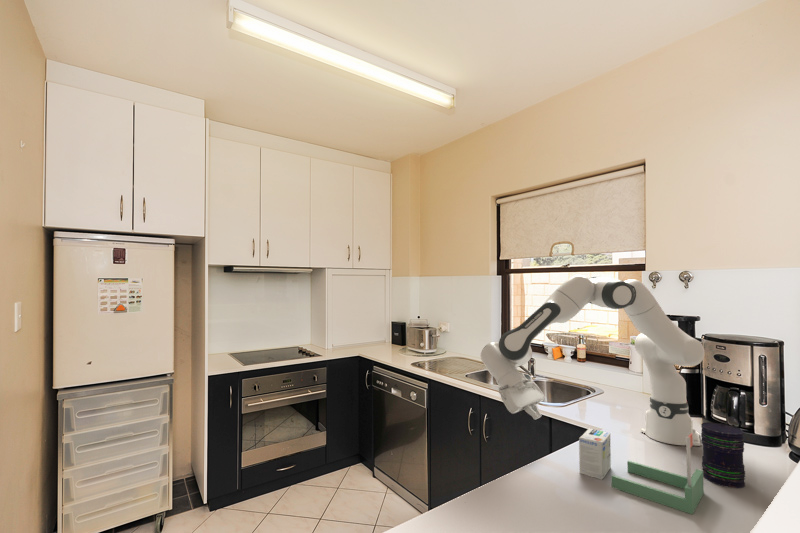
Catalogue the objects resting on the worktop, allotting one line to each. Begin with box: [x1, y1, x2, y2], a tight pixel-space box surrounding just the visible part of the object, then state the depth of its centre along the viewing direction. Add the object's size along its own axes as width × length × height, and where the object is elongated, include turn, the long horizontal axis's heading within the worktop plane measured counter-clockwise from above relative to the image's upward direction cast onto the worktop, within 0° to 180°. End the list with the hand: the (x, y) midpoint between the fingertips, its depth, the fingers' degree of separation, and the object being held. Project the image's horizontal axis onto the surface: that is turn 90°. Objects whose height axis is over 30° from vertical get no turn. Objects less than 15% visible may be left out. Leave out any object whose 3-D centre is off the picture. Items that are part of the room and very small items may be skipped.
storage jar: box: [700, 421, 746, 489], centre depth 117 cm, size 10×10×15 cm
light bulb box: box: [578, 427, 612, 480], centre depth 122 cm, size 11×7×11 cm, turn 141°
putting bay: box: [611, 433, 705, 515], centre depth 111 cm, size 15×18×18 cm
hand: (538, 417), depth 136 cm, fingers closed
